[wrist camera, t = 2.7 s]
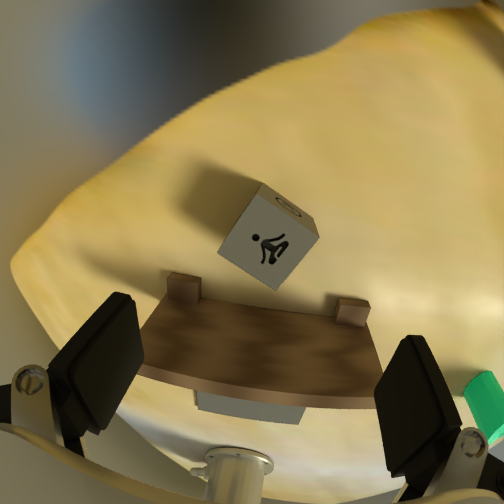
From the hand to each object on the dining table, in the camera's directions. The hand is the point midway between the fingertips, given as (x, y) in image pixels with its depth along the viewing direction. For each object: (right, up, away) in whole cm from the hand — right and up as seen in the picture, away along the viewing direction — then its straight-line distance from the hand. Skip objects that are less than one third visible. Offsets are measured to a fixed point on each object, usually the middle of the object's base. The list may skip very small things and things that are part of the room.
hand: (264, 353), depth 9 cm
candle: (+35, -17, +20) cm, 43 cm away
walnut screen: (+1, -3, +18) cm, 18 cm away
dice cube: (+1, +6, +15) cm, 16 cm away
